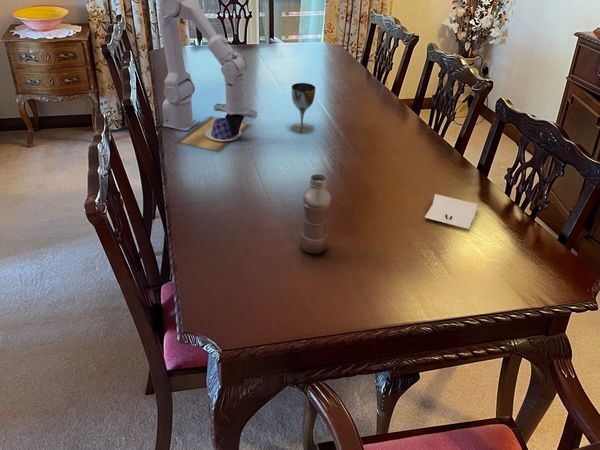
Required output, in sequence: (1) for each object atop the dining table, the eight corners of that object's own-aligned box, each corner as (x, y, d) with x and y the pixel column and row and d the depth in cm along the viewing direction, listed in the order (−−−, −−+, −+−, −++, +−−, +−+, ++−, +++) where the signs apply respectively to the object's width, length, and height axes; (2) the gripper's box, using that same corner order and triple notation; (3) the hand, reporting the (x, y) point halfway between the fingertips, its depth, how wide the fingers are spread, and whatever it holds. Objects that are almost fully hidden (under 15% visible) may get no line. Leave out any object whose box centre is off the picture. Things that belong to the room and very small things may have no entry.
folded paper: (423, 220, 148) (425, 214, 147) (433, 199, 158) (435, 193, 156) (469, 232, 144) (470, 226, 143) (476, 210, 154) (478, 204, 153)
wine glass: (310, 134, 189) (313, 92, 181) (287, 131, 191) (289, 89, 182) (314, 125, 196) (317, 84, 187) (292, 122, 197) (294, 81, 189)
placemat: (177, 142, 180) (177, 141, 180) (210, 117, 198) (210, 117, 198) (218, 151, 176) (218, 151, 176) (248, 125, 193) (248, 125, 193)
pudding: (217, 124, 192) (217, 110, 189) (247, 132, 188) (247, 118, 185) (198, 138, 183) (197, 123, 180) (229, 146, 179) (229, 131, 176)
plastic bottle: (309, 237, 139) (313, 168, 128) (331, 247, 136) (338, 177, 125) (294, 250, 135) (297, 178, 124) (317, 260, 132) (323, 188, 121)
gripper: (208, 95, 175) (210, 134, 183) (249, 103, 171) (250, 143, 179) (219, 88, 181) (220, 126, 188) (259, 96, 177) (259, 134, 184)
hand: (235, 134), depth 184 cm, fingers closed
